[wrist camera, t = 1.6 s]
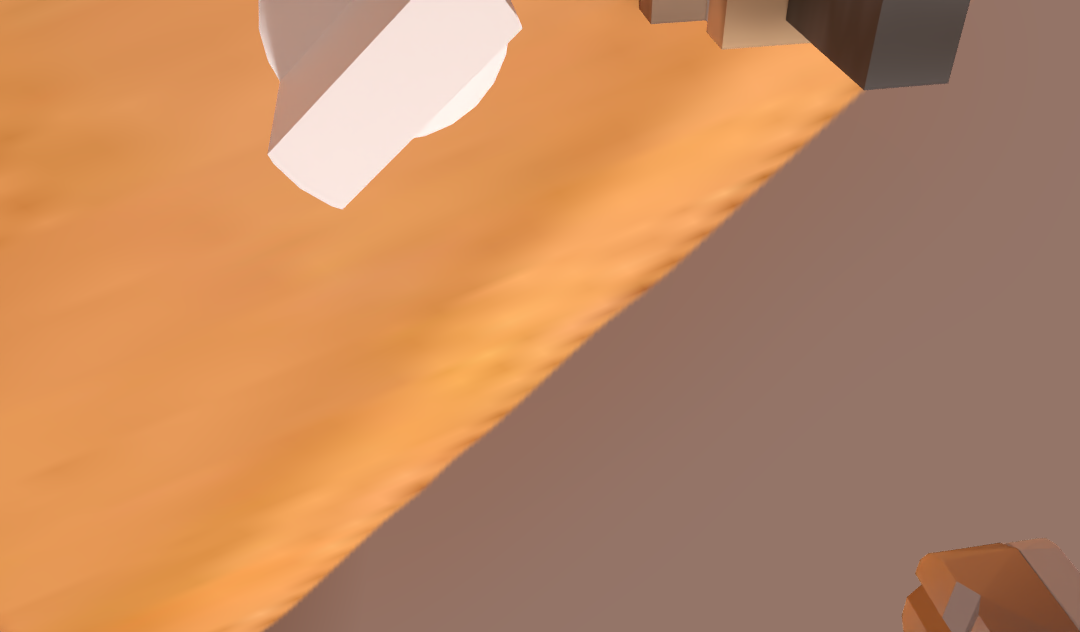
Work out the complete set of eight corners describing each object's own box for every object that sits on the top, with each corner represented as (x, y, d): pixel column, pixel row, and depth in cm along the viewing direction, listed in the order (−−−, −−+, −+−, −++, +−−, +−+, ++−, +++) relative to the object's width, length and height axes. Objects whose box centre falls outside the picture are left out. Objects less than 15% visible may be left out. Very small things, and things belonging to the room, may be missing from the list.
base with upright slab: (371, -197, 34) (377, -133, 24) (534, -25, 39) (592, 85, 29) (223, -20, 37) (178, 99, 27) (393, 120, 42) (404, 264, 32)
